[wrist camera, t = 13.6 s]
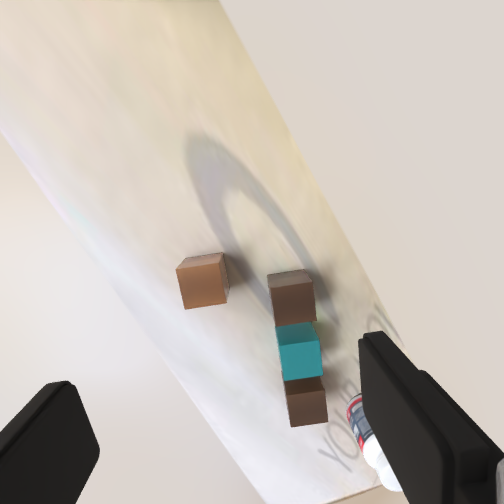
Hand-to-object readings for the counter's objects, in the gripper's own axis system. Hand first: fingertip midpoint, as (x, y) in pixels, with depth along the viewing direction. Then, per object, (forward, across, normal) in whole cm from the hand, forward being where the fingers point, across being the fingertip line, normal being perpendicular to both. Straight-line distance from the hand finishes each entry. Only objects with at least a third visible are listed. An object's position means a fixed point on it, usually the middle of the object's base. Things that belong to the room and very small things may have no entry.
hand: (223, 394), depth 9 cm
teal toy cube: (+23, -5, +14) cm, 27 cm away
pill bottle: (+22, -13, +25) cm, 36 cm away
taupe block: (+23, -5, +7) cm, 24 cm away
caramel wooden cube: (+23, +4, +3) cm, 24 cm away
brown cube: (+22, -5, +20) cm, 30 cm away
